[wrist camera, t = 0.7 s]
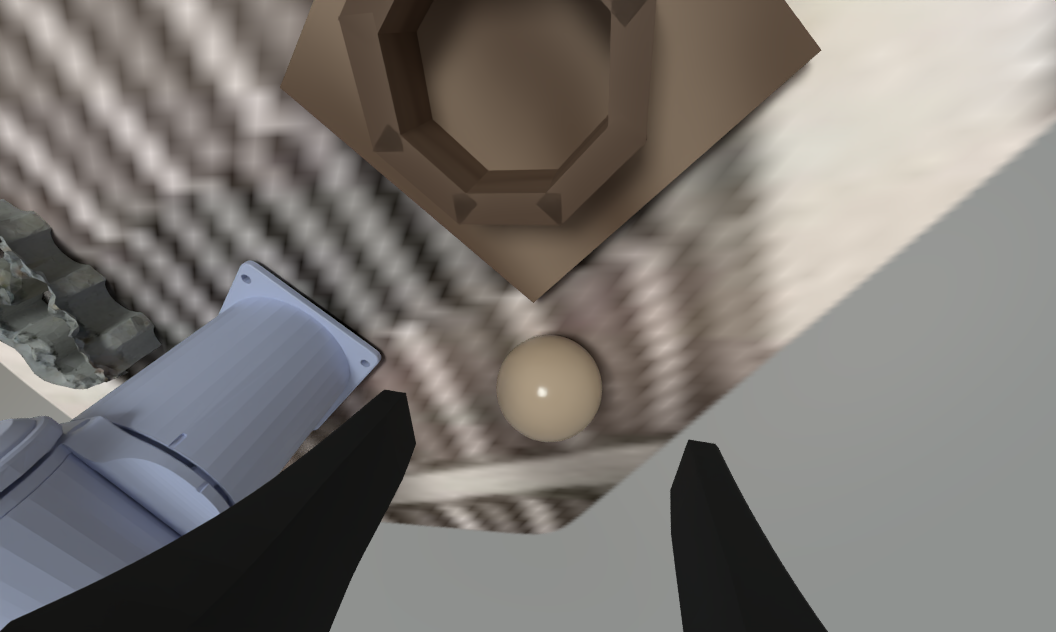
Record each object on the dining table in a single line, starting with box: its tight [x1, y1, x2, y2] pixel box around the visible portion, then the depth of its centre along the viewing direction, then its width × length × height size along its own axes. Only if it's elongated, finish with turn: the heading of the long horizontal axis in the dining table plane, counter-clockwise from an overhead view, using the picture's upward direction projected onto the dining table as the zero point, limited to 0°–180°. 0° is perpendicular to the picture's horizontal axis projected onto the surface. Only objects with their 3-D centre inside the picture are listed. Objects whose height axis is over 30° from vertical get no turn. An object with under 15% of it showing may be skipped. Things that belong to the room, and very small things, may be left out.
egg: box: [496, 335, 602, 442], centre depth 19 cm, size 5×5×5 cm
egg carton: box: [0, 199, 161, 389], centre depth 24 cm, size 11×8×4 cm
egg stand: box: [280, 0, 821, 303], centre depth 13 cm, size 12×12×4 cm
